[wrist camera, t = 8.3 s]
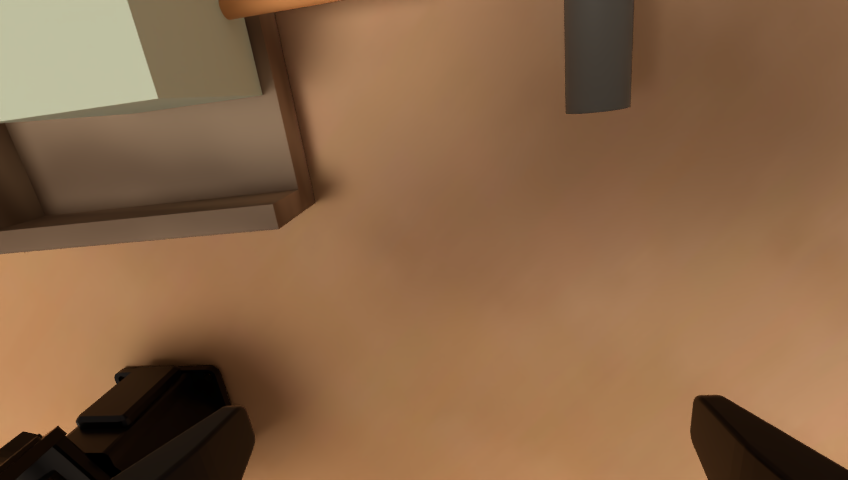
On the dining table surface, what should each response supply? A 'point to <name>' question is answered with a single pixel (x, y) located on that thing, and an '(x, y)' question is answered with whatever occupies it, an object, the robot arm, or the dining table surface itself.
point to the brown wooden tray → (159, 168)
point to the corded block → (222, 55)
